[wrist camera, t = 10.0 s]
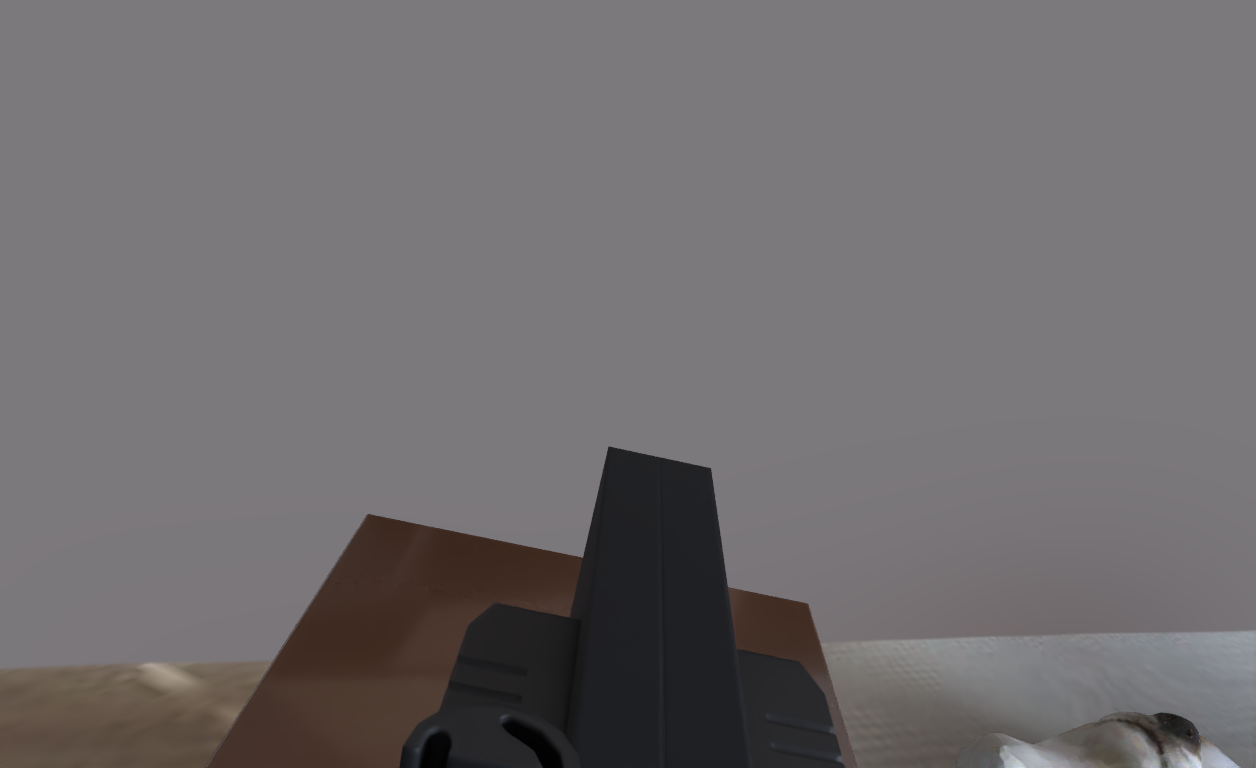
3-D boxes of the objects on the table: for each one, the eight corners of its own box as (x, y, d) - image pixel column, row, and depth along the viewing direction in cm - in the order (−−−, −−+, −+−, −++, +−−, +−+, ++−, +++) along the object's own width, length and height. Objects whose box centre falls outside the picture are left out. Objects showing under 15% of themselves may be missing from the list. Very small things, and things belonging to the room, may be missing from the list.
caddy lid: (363, 538, 26) (366, 512, 26) (801, 626, 27) (809, 603, 26) (44, 1054, 12) (45, 1011, 12) (963, 1213, 13) (982, 1175, 13)
